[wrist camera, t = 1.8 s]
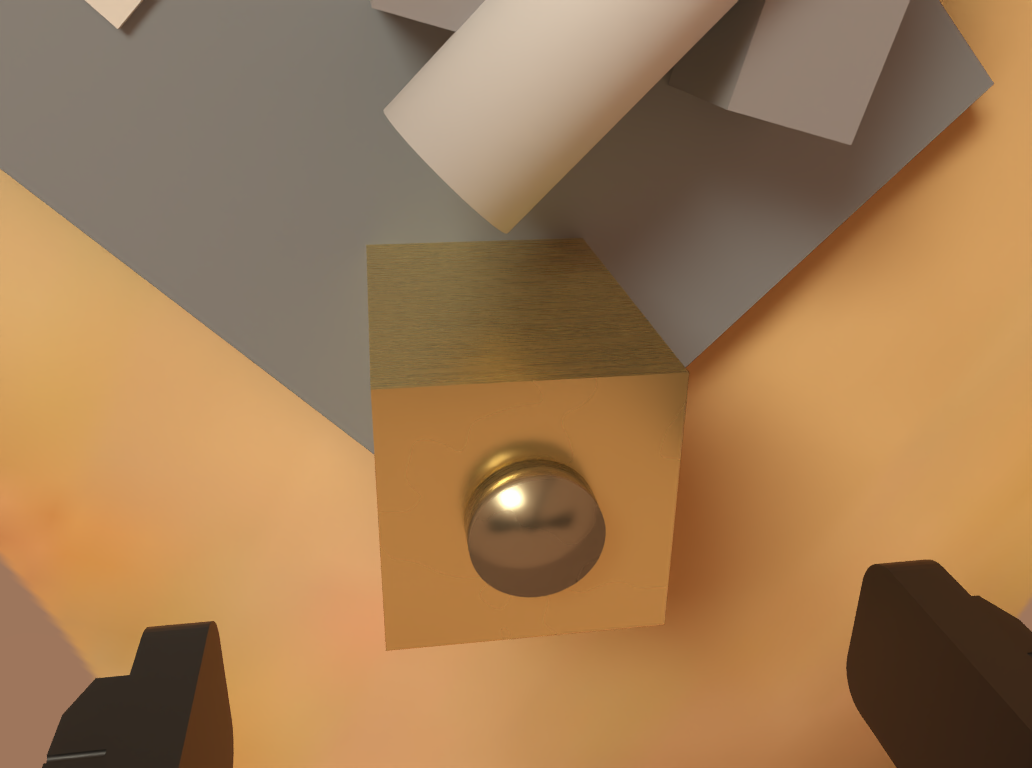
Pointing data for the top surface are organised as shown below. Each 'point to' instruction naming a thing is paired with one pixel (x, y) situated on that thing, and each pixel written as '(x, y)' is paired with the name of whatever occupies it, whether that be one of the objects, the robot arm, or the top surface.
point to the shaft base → (333, 175)
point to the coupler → (518, 443)
